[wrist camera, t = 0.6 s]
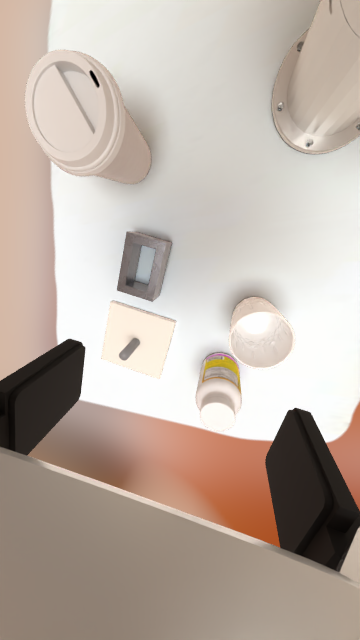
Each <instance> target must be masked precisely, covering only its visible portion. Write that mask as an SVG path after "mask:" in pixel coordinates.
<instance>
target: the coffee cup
mask: <svg viewBox="0 0 360 640" xmlns="http://www.w3.org/2000/svg"><path fill="white" fill-rule="evenodd" d="M25 109H26V115H27V119H28V123H29V126H30V129H31V131H32V133H33V135H34V137H35V139H36V140H37V142H38V143H39V145H40V147H41V148H42V150H43V151H44V152H45V154H46V155H47V156H48V157H49V159H50V160H51V161H52V162H53V163H55V164H56V165H57V166H58V167H59V168H60V169H62V170H63V171H65V172H67V173H69V174H72V175H75V176H91V175H95V176H99V177H103V178H106V179H110V180H114V181H118V182H121V183H125V184H136V183H138V182H140V181H142V180H143V179H144V178H145V177H146V175H147V174H148V172H149V169H150V166H151V152H150V149H149V146H148V144H147V142H146V141H145V139H144V137H143V136H142V134H141V133H140V131H139V129H138V128H137V126H136V124H135V123H134V121H133V119H132V118H131V116H130V114H129V113H128V111H127V110H126V108H125V106H124V103H123V98H122V95H121V92H120V90H119V87H118V85H117V83H116V81H115V79H114V78H113V76H112V75H111V73H110V72H109V71H108V70H107V69H106V68H105V67H104V66H103V65H102V64H101V63H100V62H98V61H97V60H95V59H94V58H92V57H91V56H89V55H86V54H84V53H80V52H77V51H68V50H55V51H52V52H49V53H47V54H46V55H44V56H43V57H42V58H40V60H38V62H37V63H36V64H35V66H34V67H33V69H32V71H31V73H30V75H29V78H28V81H27V85H26V91H25Z"/></svg>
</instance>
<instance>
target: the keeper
mask: <svg viewBox="0 0 360 640" xmlns="http://www.w3.org/2000/svg"><path fill="white" fill-rule="evenodd" d="M175 324H176V321H174V320H171V319H168V318H165V317H162V316H159V315H156V314H153V313H150V312H147V311H144V310H141V309H138V308H135V307H131V306H128V305H125V304H122V303H119V302H116V301H111V302H110V308H109V314H108V321H107V327H106V333H105V339H104V345H103V351H102V357H101V359H103V360H106V361H109V362H112V363H114V364H117V365H120V366H123V367H126V368H129V369H131V370H134V371H137V372H140V373H143V374H146V375H149V376H151V377H154V378H157V379H160V377H161V374H162V370H163V367H164V363H165V360H166V356H167V352H168V349H169V345H170V342H171V338H172V335H173V331H174V328H175Z"/></svg>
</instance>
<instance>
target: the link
mask: <svg viewBox="0 0 360 640" xmlns="http://www.w3.org/2000/svg"><path fill="white" fill-rule="evenodd" d="M142 245H144V246H147V247H150V248H154V249H156V253H155V257H154V262H153V266H152V271H151V276H150V280H149V285H146V284H143V283H140V282H137V281H135V276H136V271H137V266H138V261H139V256H140V251H141V246H142ZM171 246H172V242H169V241H166V240H162V239H159V238H156V237H152V236H149V235H145V234H142V233H139V232H127V234H126V239H125V245H124V251H123V257H122V263H121V269H120V275H119V280H118V286H117V290H118V291H121V292H124V293H127V294H130V295H133V296H136V297H139V298H143V299H146V300H149V301H152V302H153V301H154V300H155V299H156V298H157V297H158V296H159V295H160V291H161V287H162V283H163V279H164V275H165V271H166V266H167V262H168V258H169V254H170V250H171Z"/></svg>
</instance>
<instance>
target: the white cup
mask: <svg viewBox="0 0 360 640" xmlns="http://www.w3.org/2000/svg"><path fill="white" fill-rule="evenodd" d="M294 345H295V334H294V331H293V328H292V326H291V325H290V324H289V322H288V321H287V320H286V319H285V318H284V317H283V315H282V314H281V313H280V312H279V311H278V310H277V309H276V308H275V307H274V306H273V305H272V304H271V303H270V302H268V301H267V300H265V299H264V298H260V297H250V298H247V299H243V300H242V301H241V302H240V303H239V304H238V305H236V307H235V310H234V312H233V315H232V320H231V325H230V334H229V347H230V350H231V352H232V354H233V356H234V357H235V358H236V359H237V360H238V361H239V362H240V363H242V364H243V365H245V366H247V367H250V368H254V369H269V368H273V367H275V366H278V365H280V364H281V363H283V362H284V361H285V360H286V359H287V358H288V357H289V356H290V355H291V353H292V351H293V349H294Z"/></svg>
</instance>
